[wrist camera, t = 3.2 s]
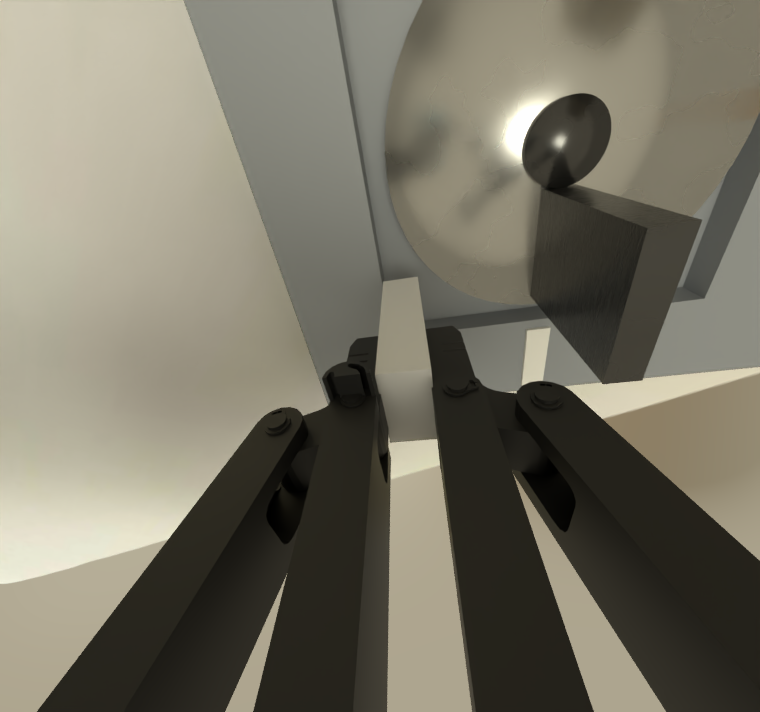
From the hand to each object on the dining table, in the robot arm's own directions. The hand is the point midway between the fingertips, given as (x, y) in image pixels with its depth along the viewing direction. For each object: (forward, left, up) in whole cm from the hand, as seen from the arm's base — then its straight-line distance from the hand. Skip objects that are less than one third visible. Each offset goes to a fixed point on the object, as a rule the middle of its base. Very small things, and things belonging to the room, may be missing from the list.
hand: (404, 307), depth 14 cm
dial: (+7, +5, -4) cm, 9 cm away
